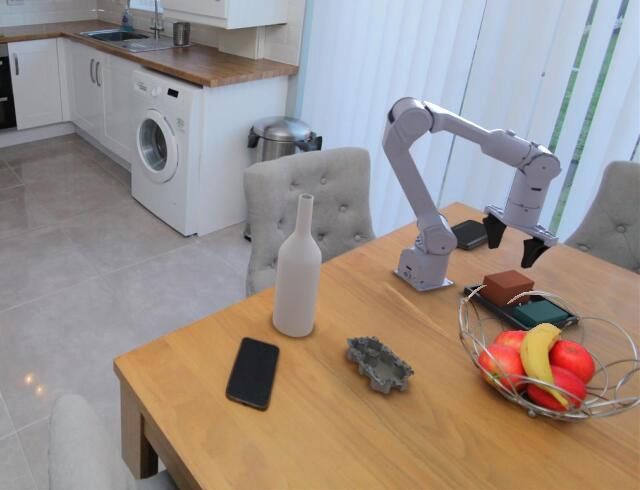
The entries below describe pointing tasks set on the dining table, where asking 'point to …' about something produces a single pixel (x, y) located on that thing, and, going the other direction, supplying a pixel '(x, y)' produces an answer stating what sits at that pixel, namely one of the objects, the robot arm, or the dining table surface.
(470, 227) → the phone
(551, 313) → the teal pad
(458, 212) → the dining table surface
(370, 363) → the egg carton
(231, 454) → the dining table surface
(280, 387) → the dining table surface
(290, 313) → the bottle
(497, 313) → the pad tray
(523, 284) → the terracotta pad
